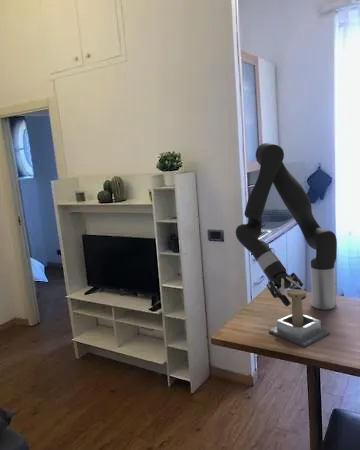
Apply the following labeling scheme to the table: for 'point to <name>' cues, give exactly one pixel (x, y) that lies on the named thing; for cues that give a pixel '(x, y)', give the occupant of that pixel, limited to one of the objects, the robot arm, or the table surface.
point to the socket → (300, 330)
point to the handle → (297, 306)
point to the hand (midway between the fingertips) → (296, 301)
